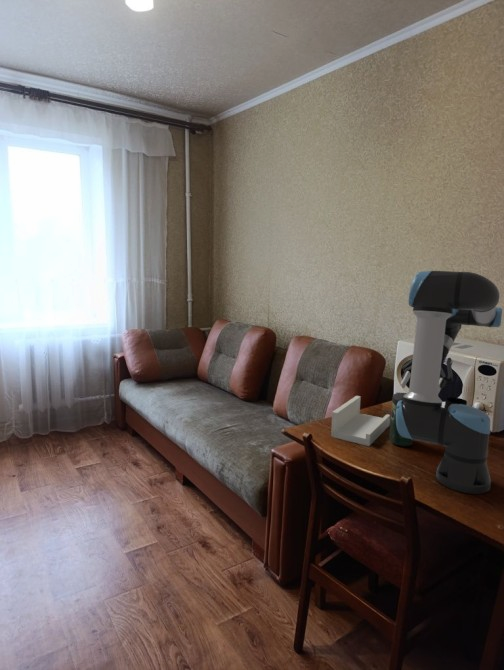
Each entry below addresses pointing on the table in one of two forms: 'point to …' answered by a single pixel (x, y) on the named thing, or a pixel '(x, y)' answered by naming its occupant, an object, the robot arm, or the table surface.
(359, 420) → the channel shelf
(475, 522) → the table surface
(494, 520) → the table surface
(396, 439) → the coffee jar
